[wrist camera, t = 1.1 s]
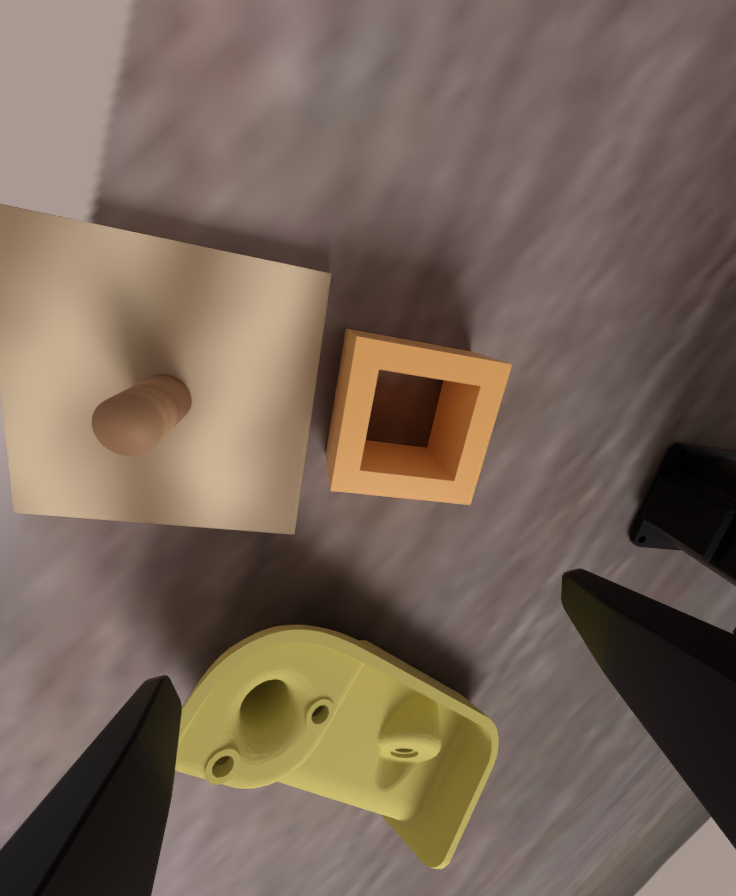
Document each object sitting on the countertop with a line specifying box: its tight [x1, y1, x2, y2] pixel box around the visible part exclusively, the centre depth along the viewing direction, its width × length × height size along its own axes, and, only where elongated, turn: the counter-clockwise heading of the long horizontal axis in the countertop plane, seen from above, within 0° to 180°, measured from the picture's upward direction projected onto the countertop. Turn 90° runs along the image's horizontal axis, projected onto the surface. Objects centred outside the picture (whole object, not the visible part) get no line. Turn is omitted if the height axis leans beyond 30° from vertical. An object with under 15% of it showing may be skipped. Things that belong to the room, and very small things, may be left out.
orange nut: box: [326, 328, 512, 505], centre depth 17 cm, size 6×6×4 cm
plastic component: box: [175, 625, 499, 869], centre depth 23 cm, size 20×7×10 cm
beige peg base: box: [0, 204, 332, 534], centre depth 15 cm, size 12×12×5 cm
